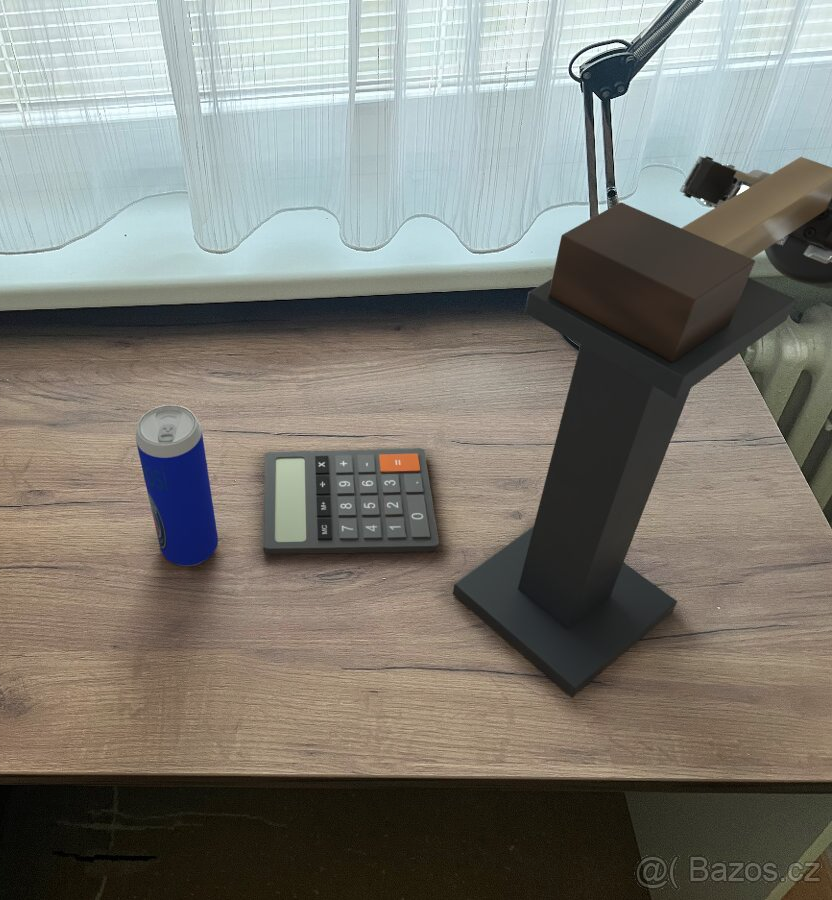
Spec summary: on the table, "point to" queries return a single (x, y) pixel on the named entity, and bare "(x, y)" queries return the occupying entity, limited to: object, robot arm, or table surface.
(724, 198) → the robot arm
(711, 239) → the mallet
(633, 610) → the stand
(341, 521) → the calculator
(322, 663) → the table surface
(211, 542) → the beverage can
